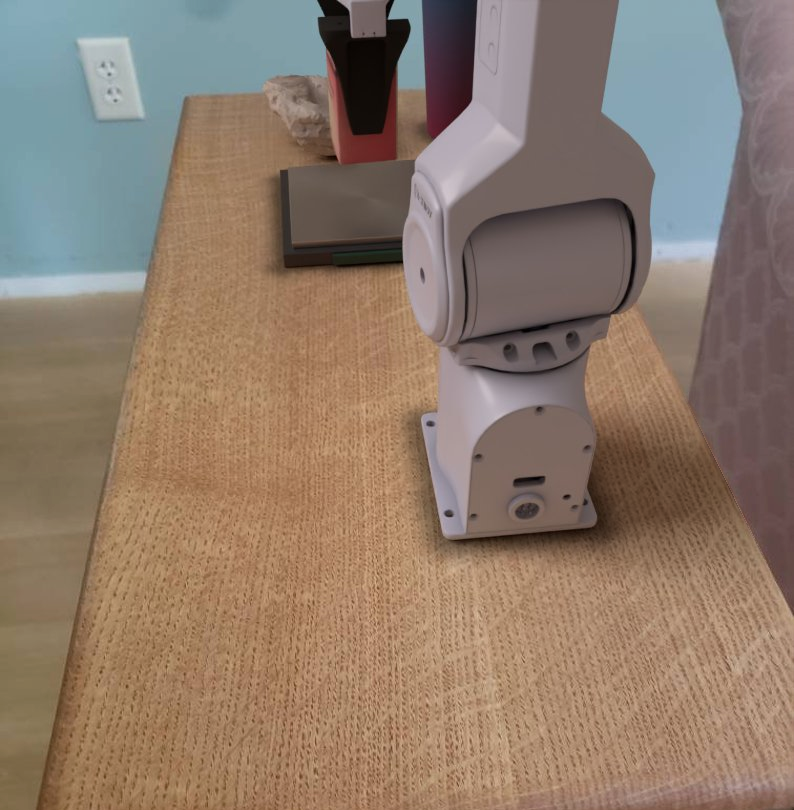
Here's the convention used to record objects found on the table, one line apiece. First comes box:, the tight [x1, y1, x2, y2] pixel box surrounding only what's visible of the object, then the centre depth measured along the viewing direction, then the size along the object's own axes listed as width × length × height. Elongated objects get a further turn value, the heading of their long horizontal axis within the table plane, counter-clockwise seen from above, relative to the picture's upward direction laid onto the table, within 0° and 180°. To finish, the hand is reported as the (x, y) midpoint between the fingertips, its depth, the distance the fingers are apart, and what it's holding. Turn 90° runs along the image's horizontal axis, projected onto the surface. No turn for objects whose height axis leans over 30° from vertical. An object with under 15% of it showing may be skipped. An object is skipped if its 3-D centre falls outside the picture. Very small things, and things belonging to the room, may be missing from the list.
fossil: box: [262, 74, 337, 157], centre depth 73 cm, size 9×6×10 cm
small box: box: [325, 19, 399, 165], centre depth 59 cm, size 5×4×8 cm
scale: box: [279, 158, 417, 268], centre depth 65 cm, size 13×13×2 cm
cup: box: [421, 0, 477, 139], centre depth 70 cm, size 7×7×15 cm
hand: (363, 114), depth 60 cm, fingers closed on small box, 5 cm apart
